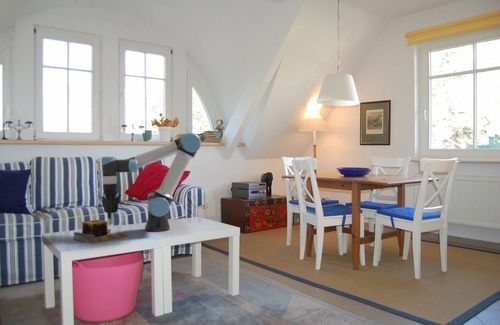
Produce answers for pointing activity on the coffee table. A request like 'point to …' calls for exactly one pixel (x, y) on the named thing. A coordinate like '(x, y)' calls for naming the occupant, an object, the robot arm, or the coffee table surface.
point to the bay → (93, 239)
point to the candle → (95, 228)
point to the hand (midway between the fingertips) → (111, 223)
